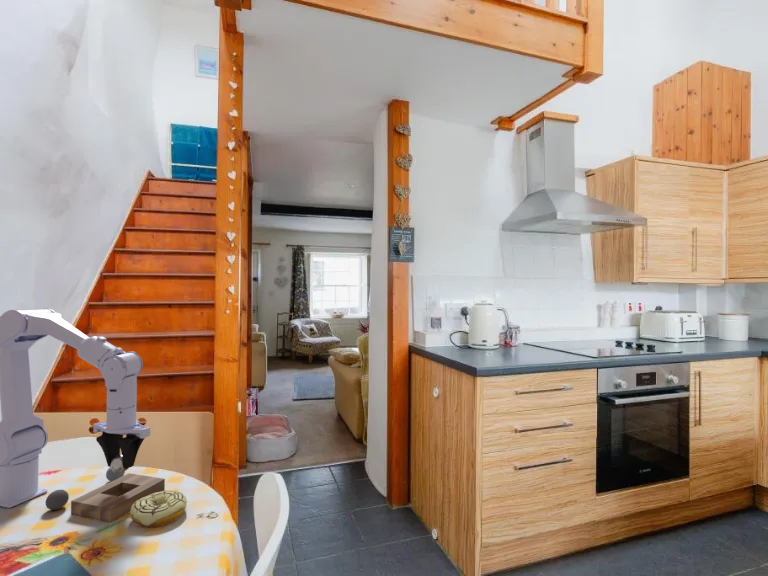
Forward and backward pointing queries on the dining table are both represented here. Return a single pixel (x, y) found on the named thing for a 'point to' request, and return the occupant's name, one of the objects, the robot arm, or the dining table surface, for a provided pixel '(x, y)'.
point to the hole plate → (115, 497)
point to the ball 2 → (113, 475)
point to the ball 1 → (57, 499)
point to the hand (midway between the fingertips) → (120, 466)
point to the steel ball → (117, 464)
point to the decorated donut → (158, 509)
